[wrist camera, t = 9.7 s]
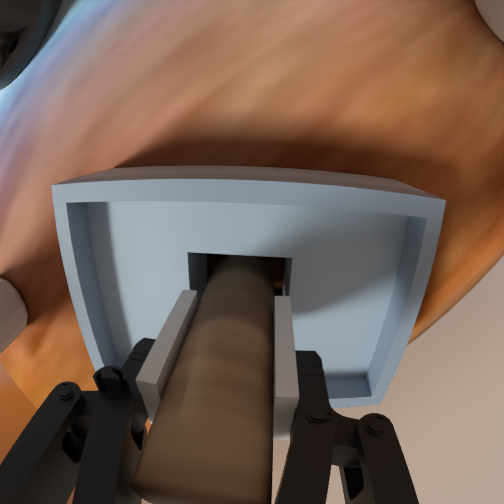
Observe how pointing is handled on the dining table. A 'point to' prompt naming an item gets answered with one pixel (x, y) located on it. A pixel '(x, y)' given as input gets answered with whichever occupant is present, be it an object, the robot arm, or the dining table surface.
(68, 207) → the box
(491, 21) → the teacup
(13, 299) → the water bottle
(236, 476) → the peg
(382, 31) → the dining table surface
